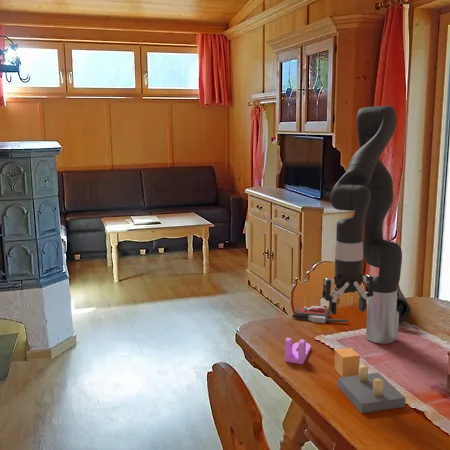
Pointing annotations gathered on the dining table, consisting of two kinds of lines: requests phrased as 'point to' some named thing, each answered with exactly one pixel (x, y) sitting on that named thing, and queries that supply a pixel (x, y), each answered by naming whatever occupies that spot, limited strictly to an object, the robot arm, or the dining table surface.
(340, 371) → the orange wooden cube
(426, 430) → the dining table surface
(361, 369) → the mounting plate
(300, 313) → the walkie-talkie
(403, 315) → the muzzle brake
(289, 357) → the bracket
